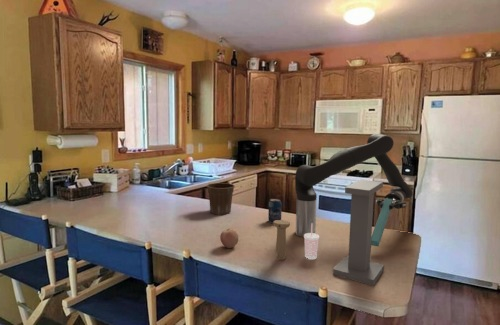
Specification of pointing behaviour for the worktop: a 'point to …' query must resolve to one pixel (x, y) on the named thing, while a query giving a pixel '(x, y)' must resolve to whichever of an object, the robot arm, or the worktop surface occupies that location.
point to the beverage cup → (311, 244)
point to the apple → (229, 238)
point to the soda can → (274, 210)
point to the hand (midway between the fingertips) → (385, 206)
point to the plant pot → (220, 197)
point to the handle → (281, 238)
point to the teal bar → (381, 223)
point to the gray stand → (360, 235)
